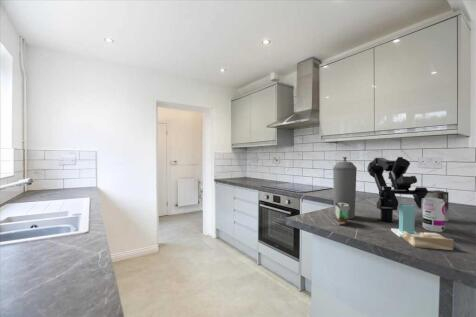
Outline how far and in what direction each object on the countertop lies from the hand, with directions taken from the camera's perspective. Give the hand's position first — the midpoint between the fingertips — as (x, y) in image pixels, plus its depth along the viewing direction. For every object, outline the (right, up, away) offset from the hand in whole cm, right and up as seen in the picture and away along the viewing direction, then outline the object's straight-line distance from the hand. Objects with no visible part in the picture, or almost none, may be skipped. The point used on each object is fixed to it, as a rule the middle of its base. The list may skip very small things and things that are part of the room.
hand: (408, 207), depth 104 cm
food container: (-21, -12, +19) cm, 31 cm away
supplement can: (+18, -13, +8) cm, 24 cm away
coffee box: (+33, -12, +25) cm, 43 cm away
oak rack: (+1, -13, -9) cm, 16 cm away
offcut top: (+4, -11, -10) cm, 15 cm away
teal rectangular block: (0, -12, +2) cm, 12 cm away
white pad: (0, -13, +2) cm, 13 cm away
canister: (-15, -12, +31) cm, 36 cm away
